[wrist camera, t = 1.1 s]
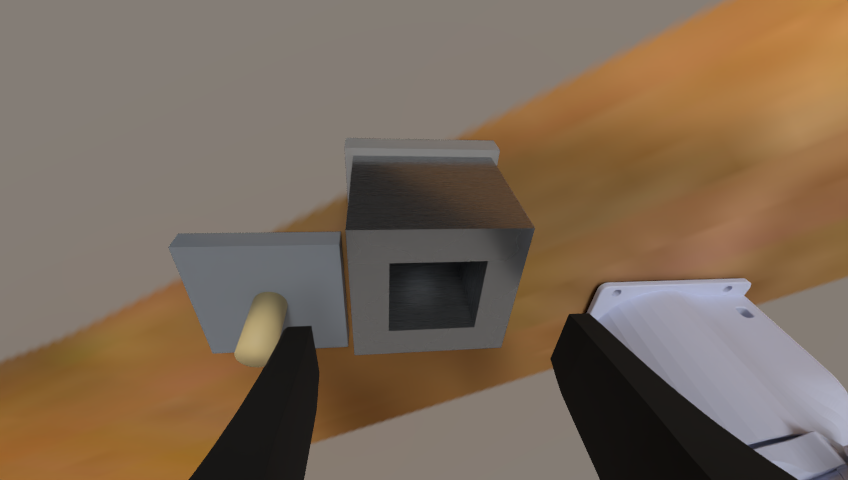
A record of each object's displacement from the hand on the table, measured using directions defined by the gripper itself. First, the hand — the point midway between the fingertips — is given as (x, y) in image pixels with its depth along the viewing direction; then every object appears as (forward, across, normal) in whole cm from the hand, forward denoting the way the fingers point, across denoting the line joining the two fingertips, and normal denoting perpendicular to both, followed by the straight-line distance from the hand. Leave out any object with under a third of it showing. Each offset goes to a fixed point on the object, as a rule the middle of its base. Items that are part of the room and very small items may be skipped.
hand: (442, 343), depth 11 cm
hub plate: (+8, +7, +5) cm, 12 cm away
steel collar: (+7, 0, 0) cm, 7 cm away
